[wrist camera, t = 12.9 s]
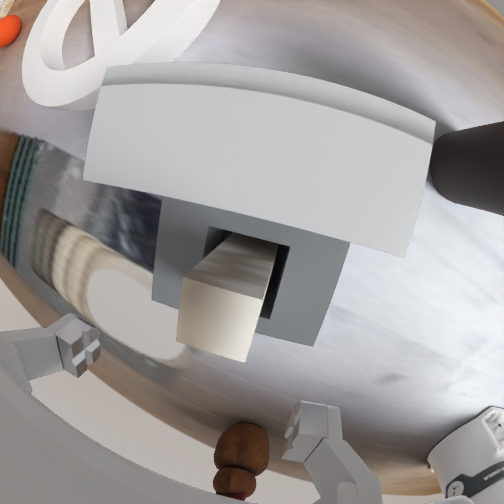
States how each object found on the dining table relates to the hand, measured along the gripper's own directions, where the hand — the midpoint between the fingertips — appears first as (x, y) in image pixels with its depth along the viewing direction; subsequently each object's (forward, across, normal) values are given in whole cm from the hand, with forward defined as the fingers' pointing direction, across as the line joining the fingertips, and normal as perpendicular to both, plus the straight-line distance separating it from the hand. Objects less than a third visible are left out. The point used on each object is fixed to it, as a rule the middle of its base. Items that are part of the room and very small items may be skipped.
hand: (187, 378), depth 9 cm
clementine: (+16, +54, -30) cm, 64 cm away
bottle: (+17, -16, -13) cm, 27 cm away
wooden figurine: (+17, -4, +25) cm, 30 cm away
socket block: (+17, +1, -3) cm, 17 cm away
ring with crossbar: (+17, +24, -25) cm, 39 cm away
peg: (+17, 0, 0) cm, 17 cm away
